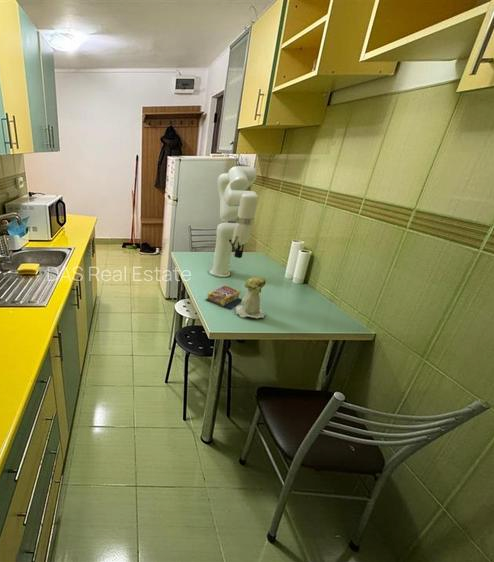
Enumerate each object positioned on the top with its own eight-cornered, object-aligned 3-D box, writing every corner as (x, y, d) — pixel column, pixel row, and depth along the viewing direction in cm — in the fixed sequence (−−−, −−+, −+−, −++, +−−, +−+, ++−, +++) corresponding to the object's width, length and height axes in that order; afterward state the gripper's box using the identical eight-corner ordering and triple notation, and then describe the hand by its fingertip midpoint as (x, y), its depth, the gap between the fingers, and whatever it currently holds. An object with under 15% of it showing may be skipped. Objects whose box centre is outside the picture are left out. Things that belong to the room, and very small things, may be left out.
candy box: (240, 290, 155) (223, 299, 146) (239, 298, 156) (222, 307, 148) (225, 284, 161) (208, 292, 152) (224, 291, 163) (206, 300, 154)
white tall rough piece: (268, 321, 136) (278, 284, 129) (239, 319, 137) (247, 282, 129) (259, 308, 147) (267, 273, 140) (232, 307, 148) (239, 272, 140)
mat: (219, 292, 163) (219, 291, 163) (242, 300, 155) (243, 299, 155) (206, 300, 154) (206, 299, 154) (230, 309, 146) (230, 308, 146)
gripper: (244, 216, 150) (237, 251, 158) (230, 221, 140) (223, 258, 148) (259, 219, 145) (251, 255, 153) (245, 224, 136) (238, 262, 143)
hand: (237, 257), depth 151 cm, fingers closed
